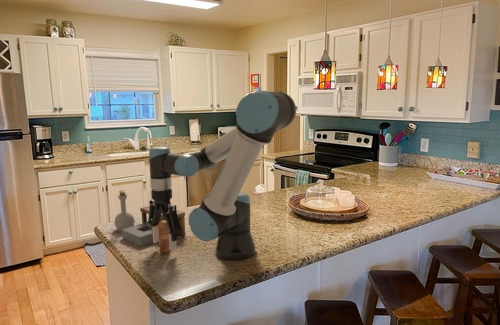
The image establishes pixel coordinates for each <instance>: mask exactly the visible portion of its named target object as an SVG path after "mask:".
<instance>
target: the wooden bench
mask: <svg viewBox="0 0 500 325" xmlns="http://www.w3.org/2000/svg"><path fill="white" fill-rule="evenodd" d="M149 208H150V205H147V206H143V207H140V209H139V210H140V211H139V212H141V222H142V223H146V222H148V217H147V215H149ZM176 211H177V216H178V221H179V225H180V231H179V232H177V234H178V235H181V236H185V235H186V222H185V221H186V220H185V216H186V212H185V211H181V210H178V209H176ZM168 213H169V211H168ZM162 220H166V219H165V217H164V216H163V214H162V213H161V216H160V219H159V221H162ZM142 223H141V224H142ZM172 230H173V229H172ZM169 232H170V230H169Z"/></svg>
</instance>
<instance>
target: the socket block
mask: <svg viewBox="0 0 500 325" xmlns="http://www.w3.org/2000/svg"><path fill="white" fill-rule="evenodd" d="M121 236H122V237H121V238H124V239H123V240H125V239H126V240H125V241H127V240H128V241H127V242H129V241H130V243H131V242H132V243H131V244H134V245H137V246H138V247H144V246H147V245H151V244H154V243H153V233H152V226H151V224H149V223H148V221H147V222H146V223H139V224H134V226H132V227H129V228H125V229H122V232H121Z"/></svg>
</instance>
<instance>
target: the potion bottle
mask: <svg viewBox="0 0 500 325" xmlns="http://www.w3.org/2000/svg"><path fill="white" fill-rule="evenodd" d="M127 198H128V194H126V191H125V190H124V189H121V190H119V194H118V200H119V202H120V213H118V214H116V215H115V218H114V225H115V228H116V230H117V229H118V230H117V231H118V232H121V231H122V229H125V228H129V227H132V226H135V221H136V219H135V217H134V215H133V214H132V213H131V212H129V211H128V212H127V204H126V200H127Z"/></svg>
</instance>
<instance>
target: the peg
mask: <svg viewBox="0 0 500 325" xmlns="http://www.w3.org/2000/svg"><path fill="white" fill-rule="evenodd" d="M158 229H159V242H158V244H159V254H160V255H168V254H170V253H171V251H172V250H170V247H169V227H168V225H167V222H166V220H162V221H159V222H158Z"/></svg>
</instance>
